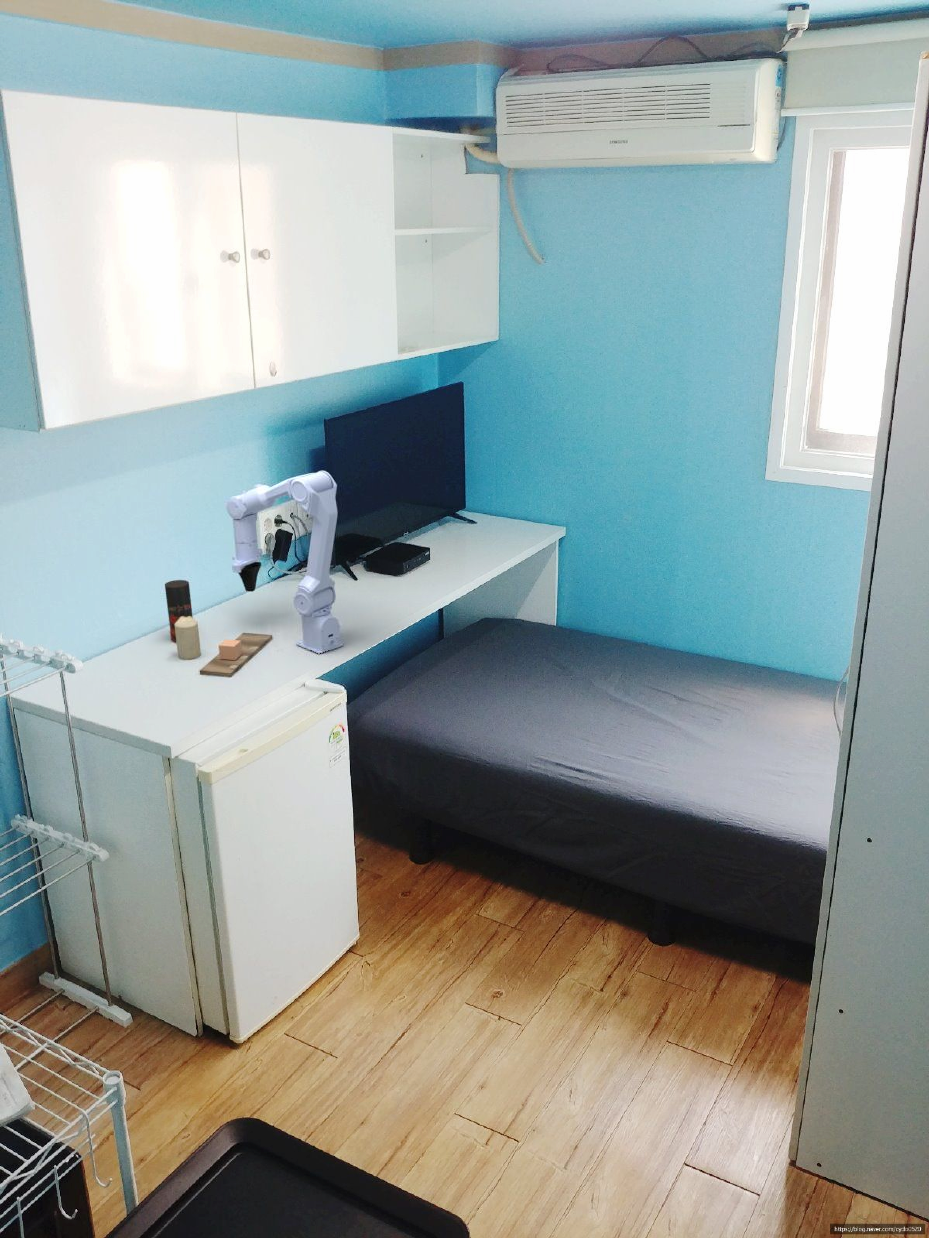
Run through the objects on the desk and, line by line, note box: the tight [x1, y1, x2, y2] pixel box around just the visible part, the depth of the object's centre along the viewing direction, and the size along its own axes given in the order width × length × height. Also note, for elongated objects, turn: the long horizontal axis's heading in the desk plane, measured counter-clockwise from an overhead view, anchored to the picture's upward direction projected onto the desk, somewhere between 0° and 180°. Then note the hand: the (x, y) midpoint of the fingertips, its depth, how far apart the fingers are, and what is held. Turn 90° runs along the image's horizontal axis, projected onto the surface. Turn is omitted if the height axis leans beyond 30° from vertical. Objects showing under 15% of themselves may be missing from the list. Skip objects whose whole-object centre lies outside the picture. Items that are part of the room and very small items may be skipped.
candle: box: [175, 616, 202, 660], centre depth 265 cm, size 6×6×10 cm
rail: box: [198, 632, 273, 678], centre depth 266 cm, size 25×8×1 cm, turn 167°
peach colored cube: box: [218, 639, 242, 660], centre depth 261 cm, size 4×4×4 cm
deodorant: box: [164, 579, 194, 644], centre depth 274 cm, size 6×6×15 cm
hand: (250, 590), depth 280 cm, fingers closed
